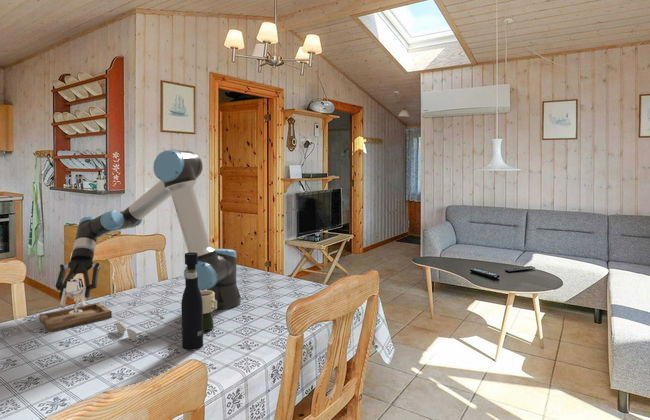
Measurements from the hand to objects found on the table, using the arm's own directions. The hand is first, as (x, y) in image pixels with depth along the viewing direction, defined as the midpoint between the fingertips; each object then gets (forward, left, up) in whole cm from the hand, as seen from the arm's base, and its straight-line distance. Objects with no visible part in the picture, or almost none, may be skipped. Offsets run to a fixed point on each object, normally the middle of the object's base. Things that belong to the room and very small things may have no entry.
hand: (72, 305), depth 152 cm
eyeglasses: (-25, -18, -7) cm, 31 cm away
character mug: (-38, -31, -7) cm, 49 cm away
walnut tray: (+3, -2, -6) cm, 7 cm away
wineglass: (+3, -2, -4) cm, 5 cm away
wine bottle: (-48, -21, -7) cm, 53 cm away
